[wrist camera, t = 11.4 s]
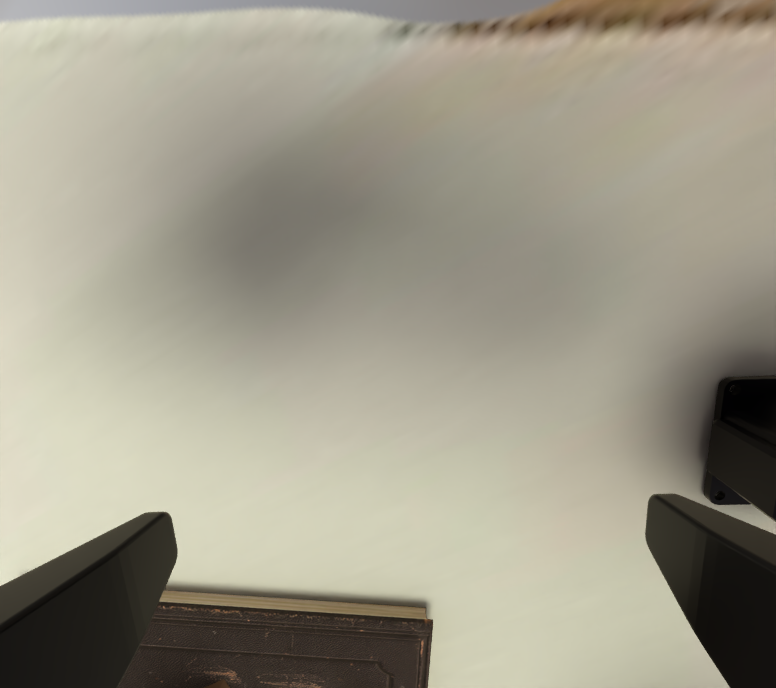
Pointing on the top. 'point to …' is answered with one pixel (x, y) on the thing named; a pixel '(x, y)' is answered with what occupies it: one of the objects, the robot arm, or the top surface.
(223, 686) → the walnut block
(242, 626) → the hardcover book
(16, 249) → the top surface
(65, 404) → the top surface
